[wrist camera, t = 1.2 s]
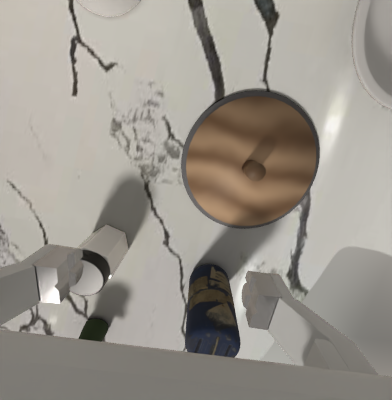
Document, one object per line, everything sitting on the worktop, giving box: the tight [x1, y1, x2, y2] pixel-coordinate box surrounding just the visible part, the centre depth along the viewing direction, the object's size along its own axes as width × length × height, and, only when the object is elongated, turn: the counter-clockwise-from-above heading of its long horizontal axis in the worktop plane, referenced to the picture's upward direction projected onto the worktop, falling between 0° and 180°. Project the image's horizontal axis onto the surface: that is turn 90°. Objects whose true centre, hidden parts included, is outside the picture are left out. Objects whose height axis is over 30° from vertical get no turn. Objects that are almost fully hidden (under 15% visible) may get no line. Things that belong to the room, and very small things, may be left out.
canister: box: [185, 264, 240, 358], centre depth 40 cm, size 10×10×18 cm
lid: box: [186, 96, 316, 226], centre depth 36 cm, size 25×25×5 cm
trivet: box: [181, 91, 319, 228], centre depth 39 cm, size 27×27×1 cm
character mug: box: [79, 319, 108, 342], centre depth 48 cm, size 11×7×13 cm, turn 29°
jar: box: [70, 225, 128, 296], centre depth 39 cm, size 9×8×12 cm
